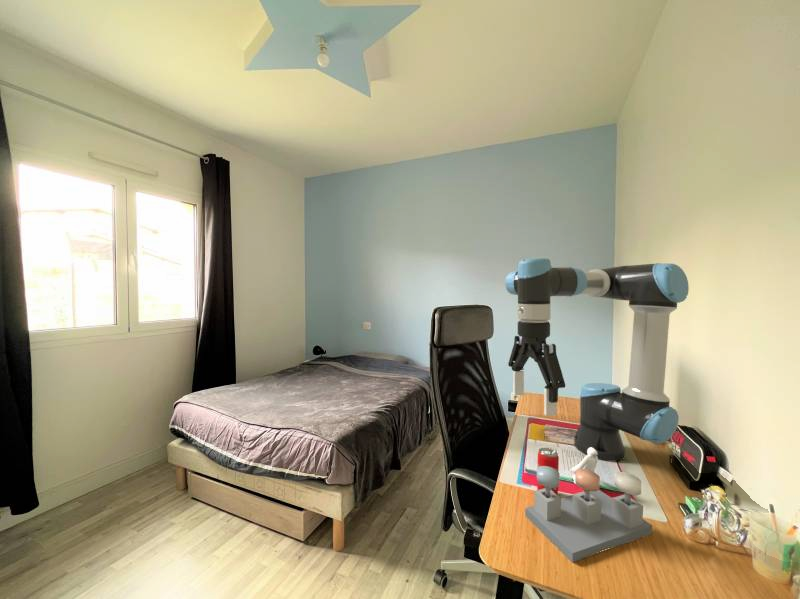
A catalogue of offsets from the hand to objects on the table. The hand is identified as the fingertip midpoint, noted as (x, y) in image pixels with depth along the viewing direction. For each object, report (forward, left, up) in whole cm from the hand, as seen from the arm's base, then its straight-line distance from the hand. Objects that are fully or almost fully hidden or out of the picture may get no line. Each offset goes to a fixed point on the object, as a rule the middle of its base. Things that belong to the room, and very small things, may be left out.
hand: (533, 404), depth 78 cm
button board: (-9, +8, -28) cm, 30 cm away
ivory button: (-17, +12, -22) cm, 31 cm away
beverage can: (-9, -3, -28) cm, 29 cm away
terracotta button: (-9, +8, -22) cm, 26 cm away
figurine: (-22, -4, -28) cm, 36 cm away
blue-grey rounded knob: (-1, +4, -22) cm, 23 cm away
